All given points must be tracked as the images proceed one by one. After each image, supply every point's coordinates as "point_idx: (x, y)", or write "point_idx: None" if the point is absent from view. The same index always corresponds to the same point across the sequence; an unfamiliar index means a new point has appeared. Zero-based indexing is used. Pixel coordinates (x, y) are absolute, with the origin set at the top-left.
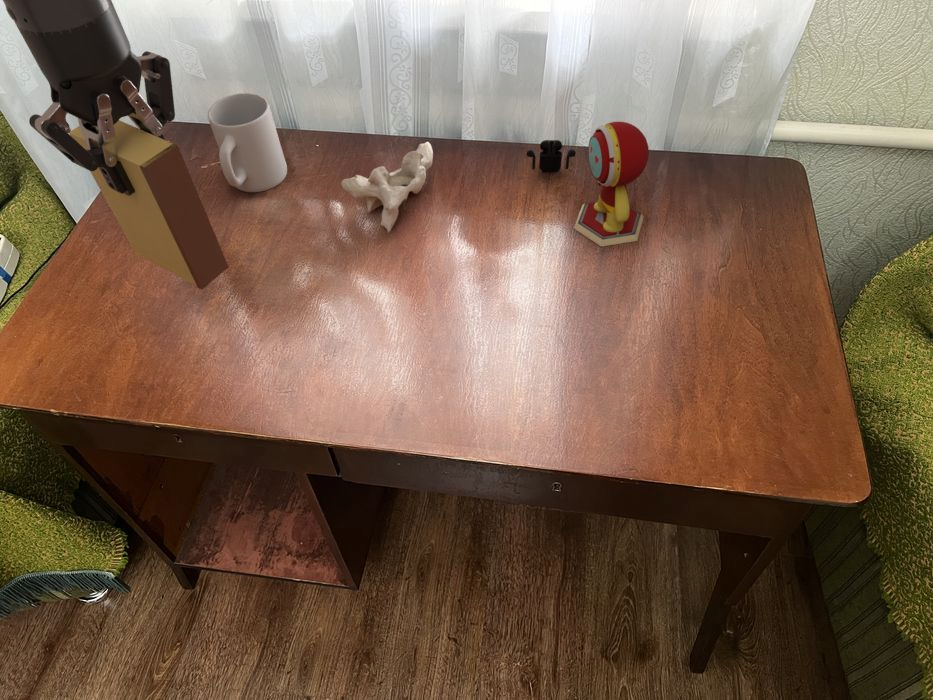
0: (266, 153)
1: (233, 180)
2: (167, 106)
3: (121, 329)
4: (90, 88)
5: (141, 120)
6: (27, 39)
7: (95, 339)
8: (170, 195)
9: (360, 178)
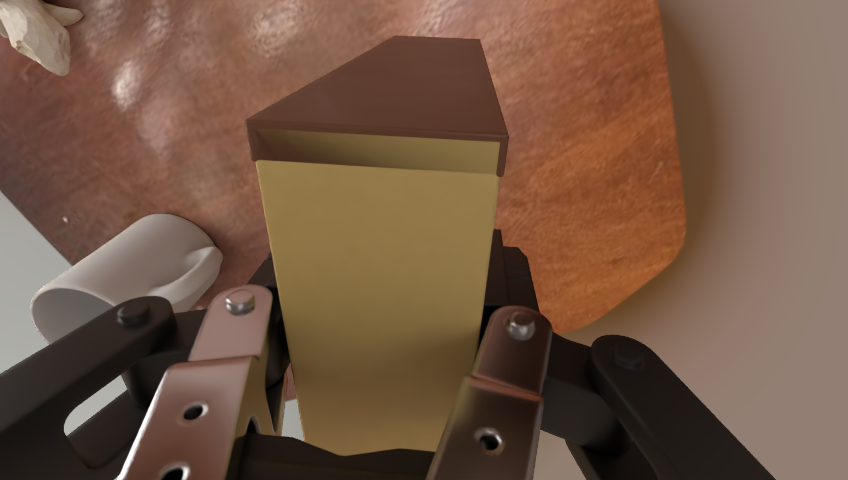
0: (129, 246)
1: (212, 254)
2: (93, 348)
3: (523, 209)
4: None
5: (261, 375)
6: None
7: (554, 227)
8: (439, 83)
9: (14, 34)
